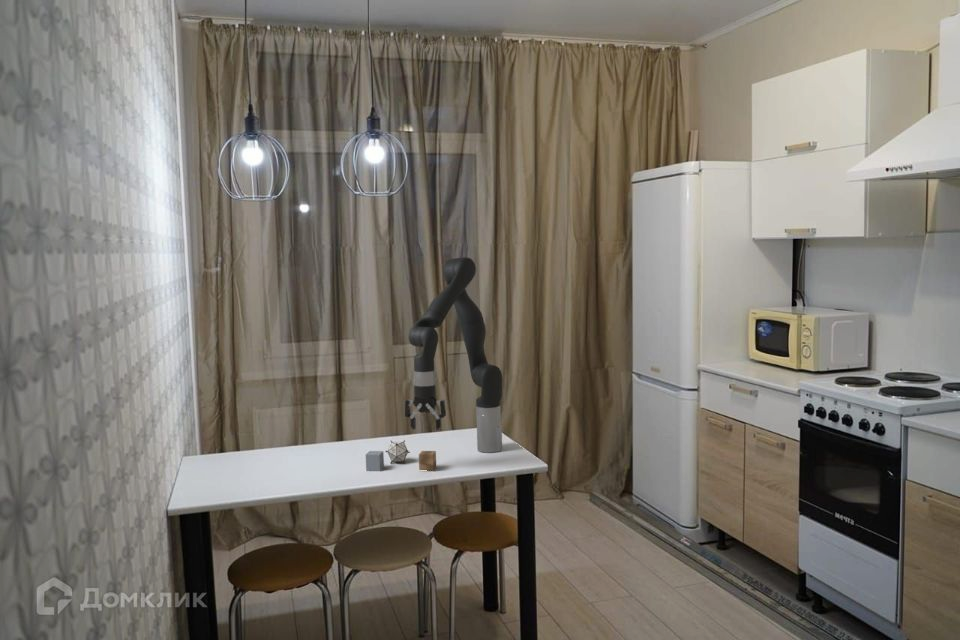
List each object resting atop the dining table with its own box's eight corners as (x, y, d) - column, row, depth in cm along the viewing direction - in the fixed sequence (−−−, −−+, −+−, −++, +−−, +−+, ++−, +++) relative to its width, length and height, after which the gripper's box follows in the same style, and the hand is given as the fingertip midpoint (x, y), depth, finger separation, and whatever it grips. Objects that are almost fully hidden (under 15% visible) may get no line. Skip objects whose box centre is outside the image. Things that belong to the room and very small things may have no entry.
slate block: (384, 467, 271) (383, 451, 270) (379, 471, 266) (379, 454, 265) (370, 467, 272) (369, 450, 271) (366, 471, 267) (365, 454, 266)
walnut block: (436, 467, 269) (435, 451, 268) (433, 471, 264) (432, 454, 263) (422, 467, 270) (422, 450, 269) (419, 471, 265) (418, 454, 264)
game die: (402, 471, 279) (416, 447, 281) (399, 469, 270) (414, 444, 273) (382, 458, 280) (396, 435, 282) (378, 456, 272) (393, 432, 274)
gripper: (446, 381, 267) (447, 427, 268) (407, 381, 269) (408, 426, 270) (442, 385, 259) (443, 432, 261) (402, 385, 262) (403, 431, 263)
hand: (425, 429), depth 266 cm, fingers open, 8 cm apart
